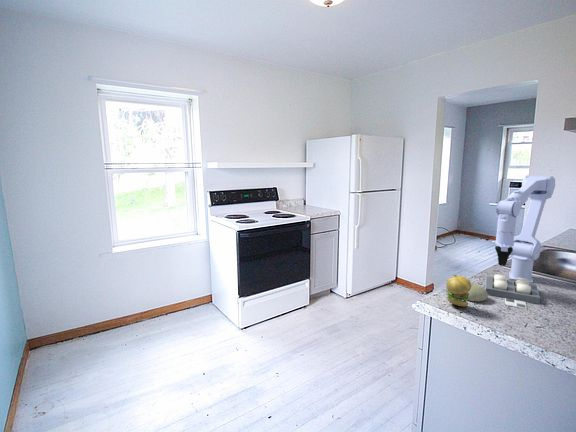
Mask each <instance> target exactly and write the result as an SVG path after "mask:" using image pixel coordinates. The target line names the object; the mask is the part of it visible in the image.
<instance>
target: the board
mask: <svg viewBox="0 0 576 432" xmlns="http://www.w3.org/2000/svg"><path fill="white" fill-rule="evenodd" d="M507 282H508V285H507V291H506V290H501V289H495V288H494V276H487V277H486V283H485V290H486V291H487V294H488V296H492V297H496V298H497V297H498V298H503V299H505V298H507V299H512V300H518V301H523V302H526V303H529V304H530V303H531V304H537V305H540V304H541V303H540V302H541V297H540V293H539V289H538V287H537V284H536V283H531V282H529V285H530V286H531V293H530V295H529V294H523V293H518V292H516V288H517V286H515V283H516V280H512V279H507Z"/></svg>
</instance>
